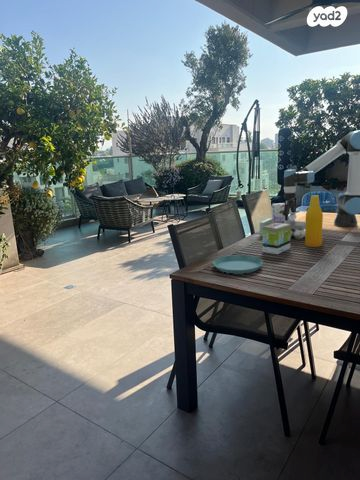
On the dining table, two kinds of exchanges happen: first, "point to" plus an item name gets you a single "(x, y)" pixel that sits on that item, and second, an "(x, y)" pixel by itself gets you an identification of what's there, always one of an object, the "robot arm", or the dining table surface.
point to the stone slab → (297, 224)
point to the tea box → (276, 238)
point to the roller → (291, 217)
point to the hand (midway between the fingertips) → (289, 223)
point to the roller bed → (298, 233)
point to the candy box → (278, 212)
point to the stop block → (265, 224)
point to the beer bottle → (314, 223)
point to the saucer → (238, 264)
